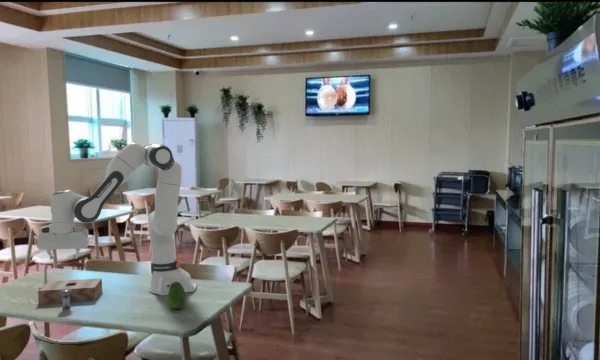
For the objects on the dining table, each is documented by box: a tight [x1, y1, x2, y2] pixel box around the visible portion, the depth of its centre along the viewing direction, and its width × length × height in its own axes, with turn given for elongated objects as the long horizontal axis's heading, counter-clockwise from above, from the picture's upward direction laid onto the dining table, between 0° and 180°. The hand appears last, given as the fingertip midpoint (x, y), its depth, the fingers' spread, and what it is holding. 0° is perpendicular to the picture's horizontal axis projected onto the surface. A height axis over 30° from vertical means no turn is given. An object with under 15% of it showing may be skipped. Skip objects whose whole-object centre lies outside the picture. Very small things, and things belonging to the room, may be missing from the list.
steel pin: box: [59, 289, 72, 310], centre depth 201 cm, size 5×5×8 cm
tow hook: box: [38, 264, 48, 290], centre depth 228 cm, size 8×13×9 cm
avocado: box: [167, 282, 187, 310], centre depth 199 cm, size 8×8×12 cm
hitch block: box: [37, 278, 103, 305], centre depth 216 cm, size 24×14×6 cm, turn 101°
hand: (63, 258), depth 200 cm, fingers open, 8 cm apart
